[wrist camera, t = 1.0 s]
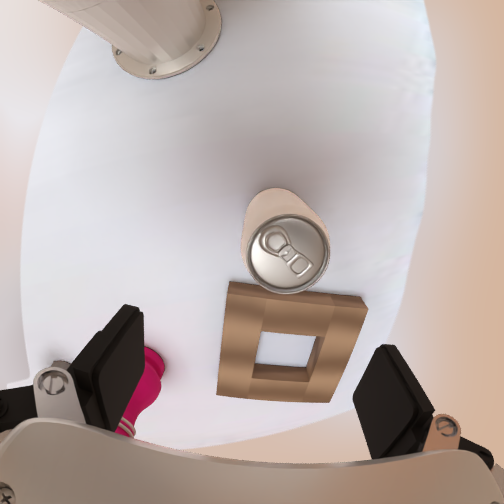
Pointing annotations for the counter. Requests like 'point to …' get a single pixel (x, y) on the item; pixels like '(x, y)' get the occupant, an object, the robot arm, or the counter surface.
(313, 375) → the socket board
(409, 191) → the counter surface
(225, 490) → the robot arm
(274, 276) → the can
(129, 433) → the pepper mill
